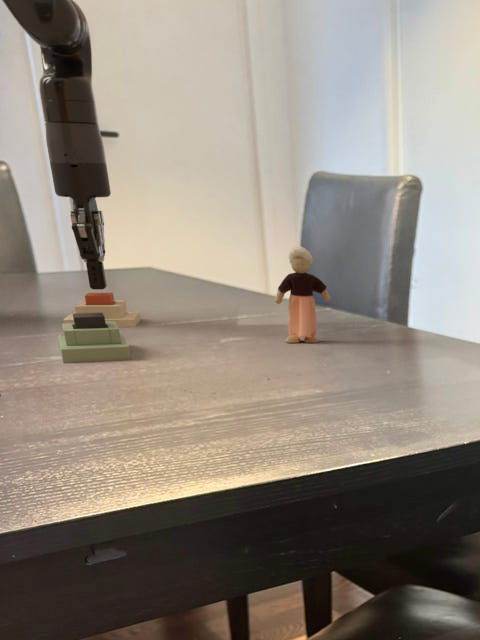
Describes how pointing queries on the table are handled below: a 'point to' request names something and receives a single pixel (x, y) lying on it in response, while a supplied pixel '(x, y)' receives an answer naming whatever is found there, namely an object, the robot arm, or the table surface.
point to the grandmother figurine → (301, 296)
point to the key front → (89, 320)
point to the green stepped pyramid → (93, 344)
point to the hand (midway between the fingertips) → (98, 288)
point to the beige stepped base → (108, 313)
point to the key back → (99, 299)
